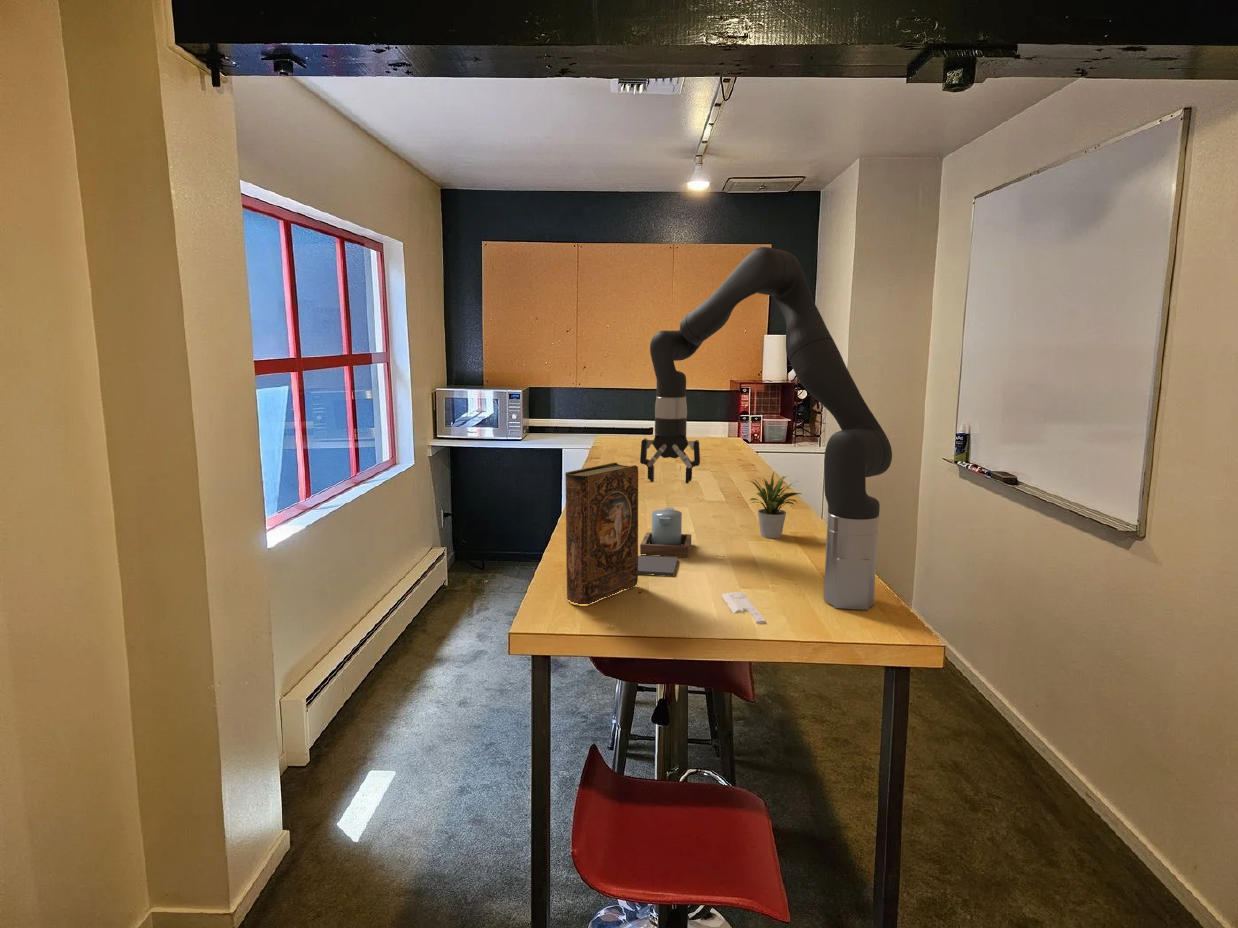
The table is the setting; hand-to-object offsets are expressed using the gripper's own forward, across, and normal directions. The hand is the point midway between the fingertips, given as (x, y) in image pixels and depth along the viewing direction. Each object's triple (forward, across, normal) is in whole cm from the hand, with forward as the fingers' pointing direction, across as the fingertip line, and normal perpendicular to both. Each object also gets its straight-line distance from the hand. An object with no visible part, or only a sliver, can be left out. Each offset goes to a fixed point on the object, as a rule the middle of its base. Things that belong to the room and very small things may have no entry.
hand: (669, 482), depth 182 cm
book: (+15, -9, -39) cm, 43 cm away
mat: (+15, -2, -20) cm, 25 cm away
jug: (+15, 0, -5) cm, 16 cm away
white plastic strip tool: (+15, +18, -43) cm, 49 cm away
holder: (+15, 0, -6) cm, 16 cm away
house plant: (+15, +24, +10) cm, 30 cm away
